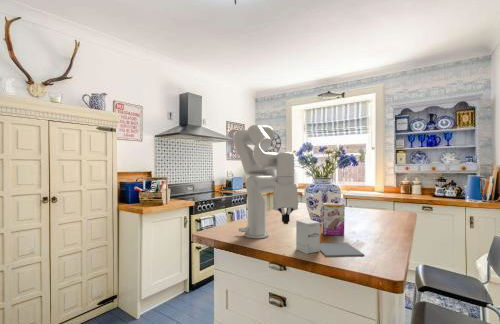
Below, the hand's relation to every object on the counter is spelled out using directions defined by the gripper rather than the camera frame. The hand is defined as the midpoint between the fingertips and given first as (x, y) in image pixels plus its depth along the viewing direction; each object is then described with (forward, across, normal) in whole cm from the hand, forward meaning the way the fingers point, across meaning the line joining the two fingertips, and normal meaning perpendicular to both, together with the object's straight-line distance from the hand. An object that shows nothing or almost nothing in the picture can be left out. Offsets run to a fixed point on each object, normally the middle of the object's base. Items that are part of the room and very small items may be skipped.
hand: (285, 223), depth 110 cm
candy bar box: (+12, +31, +26) cm, 42 cm away
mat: (+12, +23, +1) cm, 26 cm away
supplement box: (+12, +10, +1) cm, 16 cm away
